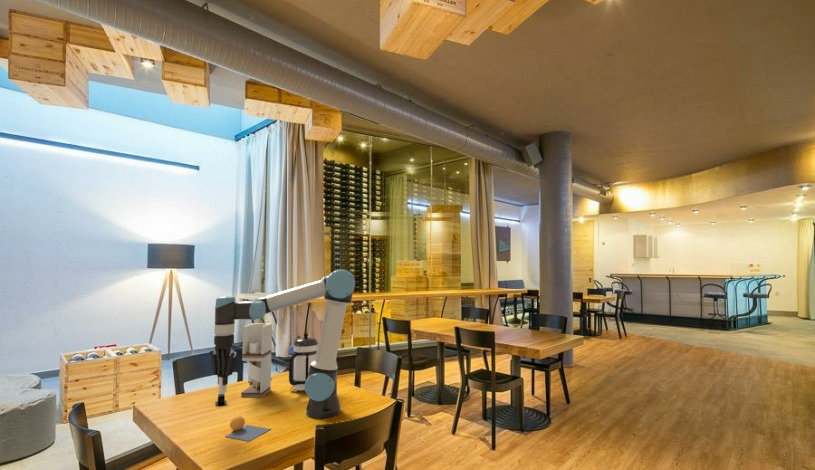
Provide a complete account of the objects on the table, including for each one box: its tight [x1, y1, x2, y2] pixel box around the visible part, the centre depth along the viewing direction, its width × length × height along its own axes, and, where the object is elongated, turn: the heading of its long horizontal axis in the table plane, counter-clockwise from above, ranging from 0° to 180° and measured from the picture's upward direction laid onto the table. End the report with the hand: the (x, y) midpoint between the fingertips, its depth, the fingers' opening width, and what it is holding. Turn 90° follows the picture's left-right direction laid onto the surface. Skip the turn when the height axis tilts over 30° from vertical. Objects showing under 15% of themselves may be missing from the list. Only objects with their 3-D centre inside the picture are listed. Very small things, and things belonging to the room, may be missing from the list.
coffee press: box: [288, 332, 319, 395], centre depth 212 cm, size 17×16×30 cm
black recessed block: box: [214, 393, 228, 408], centre depth 192 cm, size 12×7×5 cm, turn 27°
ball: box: [229, 415, 246, 432], centre depth 160 cm, size 6×6×6 cm
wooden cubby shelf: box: [240, 322, 273, 398], centre depth 209 cm, size 11×11×35 cm
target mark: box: [224, 424, 271, 442], centre depth 157 cm, size 12×12×1 cm
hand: (222, 392), depth 164 cm, fingers closed
